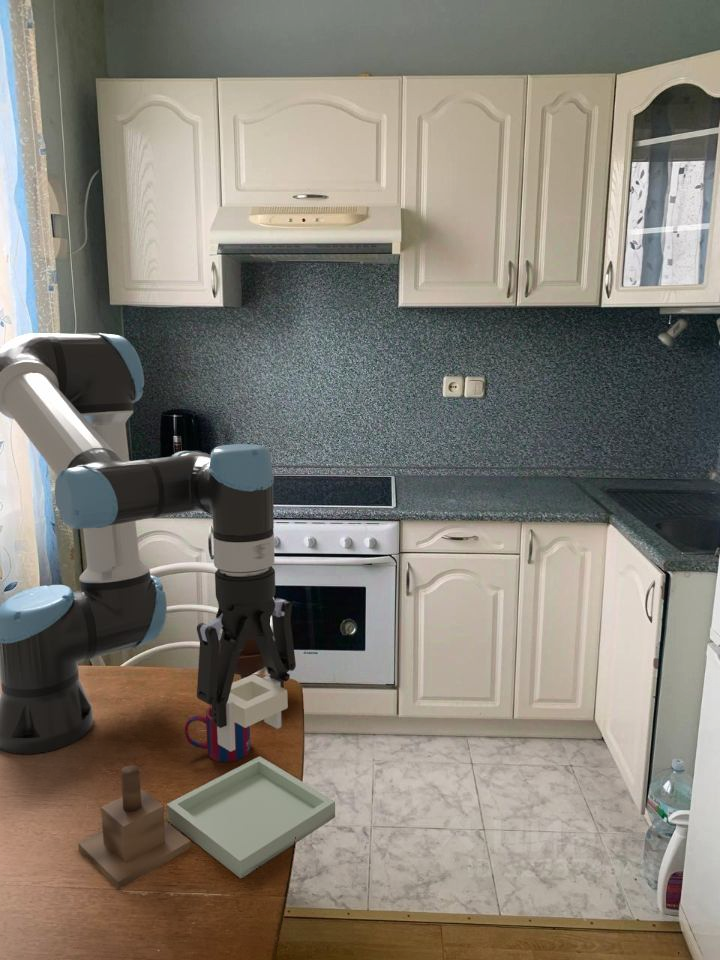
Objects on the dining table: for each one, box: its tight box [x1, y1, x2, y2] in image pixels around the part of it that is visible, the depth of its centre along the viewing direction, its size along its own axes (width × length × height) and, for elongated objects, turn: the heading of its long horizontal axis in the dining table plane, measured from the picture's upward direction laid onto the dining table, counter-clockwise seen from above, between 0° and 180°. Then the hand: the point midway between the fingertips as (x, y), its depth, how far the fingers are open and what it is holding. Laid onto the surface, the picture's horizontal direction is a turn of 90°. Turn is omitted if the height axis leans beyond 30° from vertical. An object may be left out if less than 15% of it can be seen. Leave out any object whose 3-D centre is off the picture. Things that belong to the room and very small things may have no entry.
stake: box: [77, 764, 192, 890], centre depth 93 cm, size 10×10×11 cm
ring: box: [228, 673, 289, 728], centre depth 97 cm, size 7×7×2 cm
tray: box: [166, 756, 336, 879], centre depth 100 cm, size 16×16×2 cm
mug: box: [184, 705, 251, 763], centre depth 116 cm, size 7×10×7 cm
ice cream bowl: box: [219, 638, 275, 679], centre depth 134 cm, size 11×11×15 cm
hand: (250, 734), depth 98 cm, fingers closed on ring, 7 cm apart
